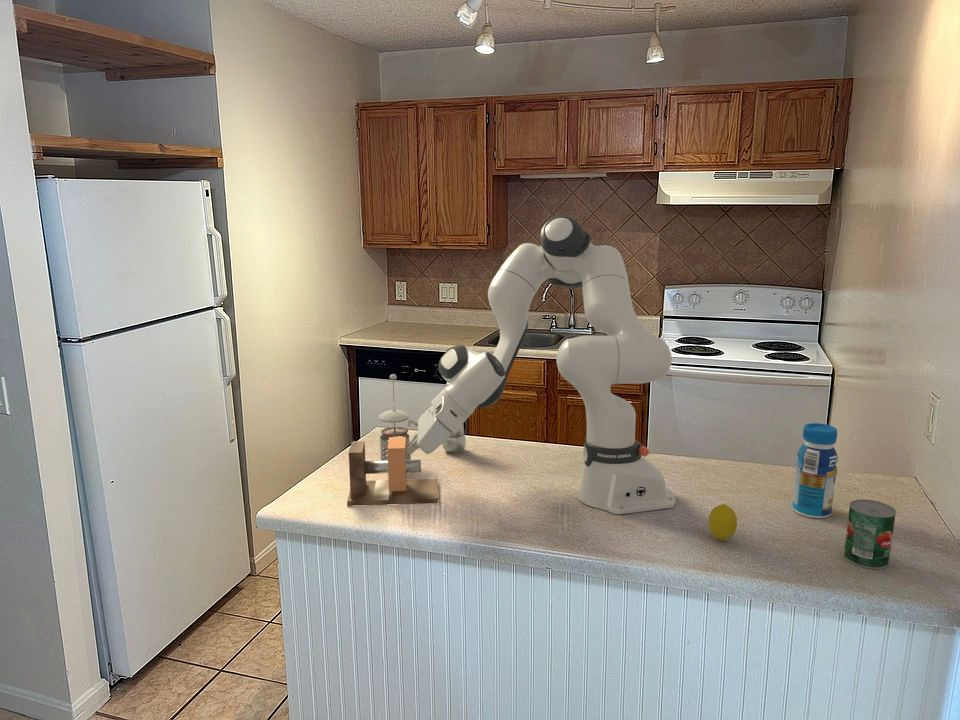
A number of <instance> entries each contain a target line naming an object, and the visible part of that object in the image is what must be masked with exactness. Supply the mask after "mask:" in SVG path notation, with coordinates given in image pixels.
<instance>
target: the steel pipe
mask: <svg viewBox="0 0 960 720" xmlns="http://www.w3.org/2000/svg"><path fill="white" fill-rule="evenodd" d="M406 473H407V474H410V473H415V474H416V473H422V460H421V459H411V460H406ZM364 474H366V475H372V474H373V475H375V474H388V461H381V460H365V461H364Z"/></svg>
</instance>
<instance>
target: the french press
mask: <svg viewBox="0 0 960 720" xmlns="http://www.w3.org/2000/svg"><path fill="white" fill-rule="evenodd" d="M397 379H398V377H397V375H396V374H395V373H393V374H390V375H389V380H392V390H393V391H392V393H393V395H392V396H393V401H395V380H397ZM395 408H396V407H393V409H389V410H386V411H384V412H382V413H380V414H379V416H378V419H379V420H380V421H381V422H385V423H392V424H393V426H390V427H389V426H388V427H385V428H382V430H381V431H380V433H381V435H380V436H379V446H380V450H379V451H380V452H379V453H380V461H388V442H389V437H406V448H407V444H408V443H409V442H410V434H409V433H408V432H409V429H408V428H406V427H403V426H402V427H401V426H396V423H403V422H405V421H407V420H408V427H411V426H410V424H413V425H414V426H415V427H416V428H417V429H418V422H416V421H415V420H412V419H409V418H410V417H411V416H410V413H408V412H406V411H403V410H401V409H395ZM406 460H412V458H411V454H410V453H408V452H407V450H406Z"/></svg>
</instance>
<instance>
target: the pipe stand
mask: <svg viewBox="0 0 960 720" xmlns="http://www.w3.org/2000/svg"><path fill="white" fill-rule="evenodd" d="M350 444H351V445H350V448H349V450H348V466H349V469H348V470H349V491H348V495H347V499H346V500H347V501H346V502H347V503H346V504H347V507H354V506H353V505H367V506H388V505H387V504H399V505H424V504H425V505H427V504H429V505H431V504H439V500H440V499H439V480H438V478H426V479H425V478H424V479H419V478H418V479H407V483H406V491H389V482H388V479H378V480H377V479H376V480H367V474H364V461H366V442H365V440H357V441H356V440H354V441H351V443H350ZM430 503H431V504H430Z"/></svg>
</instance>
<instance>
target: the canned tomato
mask: <svg viewBox="0 0 960 720" xmlns="http://www.w3.org/2000/svg"><path fill="white" fill-rule="evenodd" d="M849 502H850V503H849V511H848V517H847V525H846V526H847V527H846V533H845V542H844V549H843V550H844V551H843V558H844V559H845V560H846V561H847V562H849V564H852V565H854V566H857V567H860V568H863V569H868V570H882V569H883V570H884V569H886V568H888V567H889V565H890V557H891V556H890V555H891V549H892V541H893V536H894V528H895V520H896V514H897V510H896V509H895V508H894V507H893V506H891V505H889V504H886V503H884V502H882V501H876V500H871V499H861V498H860V499H855V500H851V501H849Z"/></svg>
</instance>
